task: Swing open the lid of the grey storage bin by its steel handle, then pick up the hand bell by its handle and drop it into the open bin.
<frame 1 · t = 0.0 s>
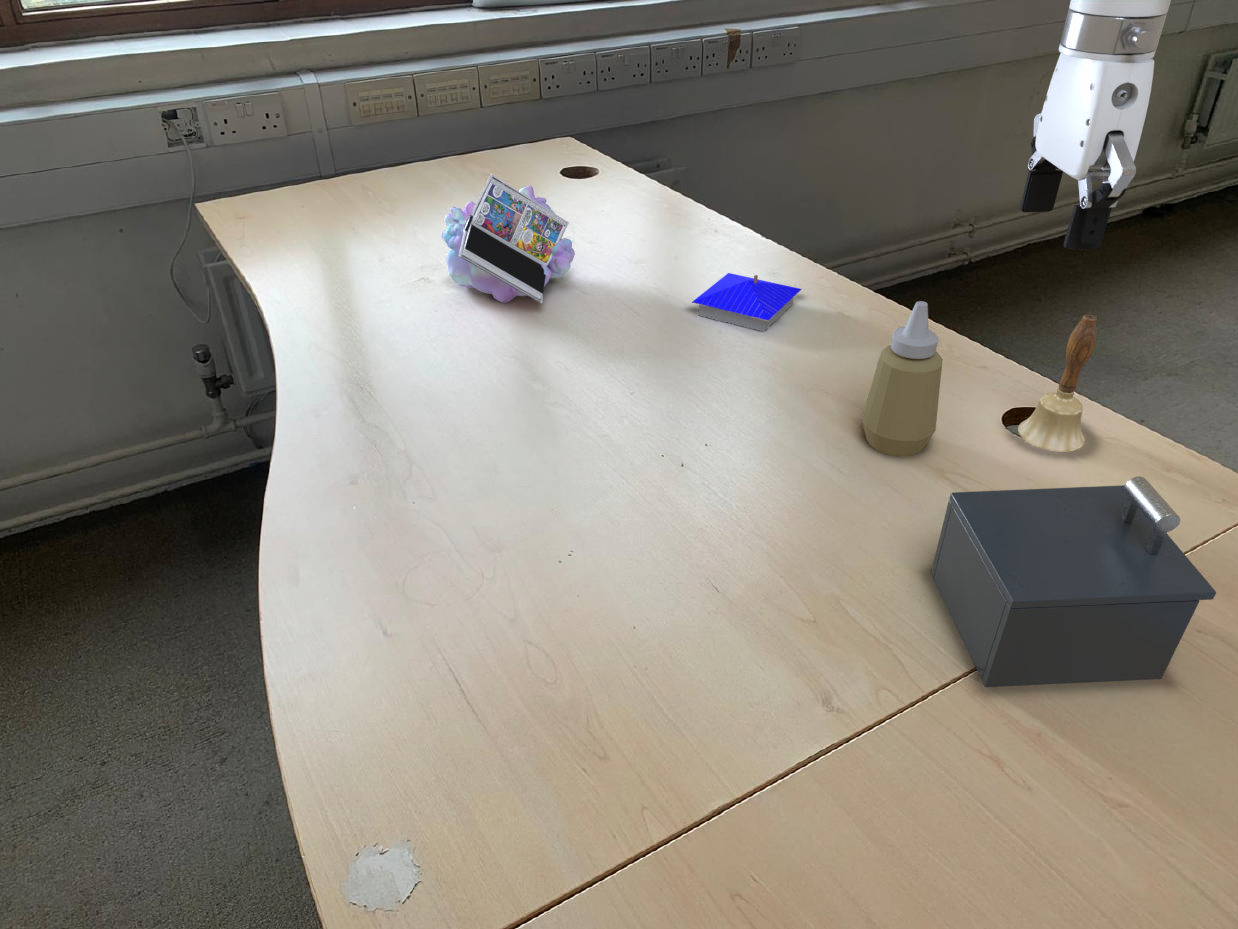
hand: (1057, 228, 86), 26 cm above the table, tool pointing down, fingers open, 9 cm apart
roof: (746, 311, 133), on the table
bin lid: (1080, 522, 72), point 12 cm above the table, hinge at 0.0°
pastel cloud comic display: (513, 285, 142), on the table
grey storage bin: (1035, 631, 79), on the table
hand bell: (1048, 443, 103), on the table
squeeze bottle: (893, 449, 103), on the table
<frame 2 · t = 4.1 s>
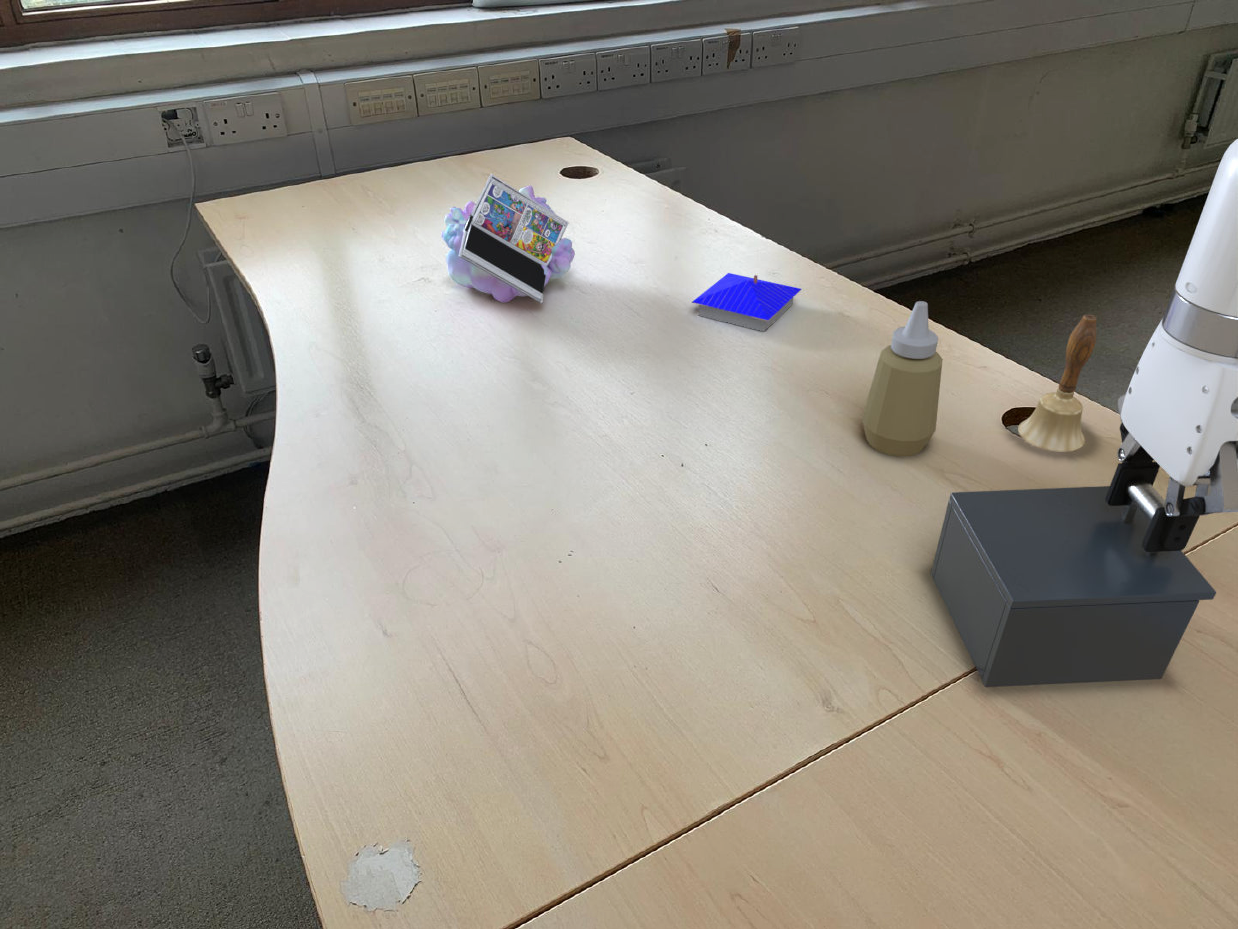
hand: (1143, 523, 72), 12 cm above the table, tool pointing down, fingers closed on bin lid, 5 cm apart
bin lid: (1080, 522, 72), point 12 cm above the table, hinge at 0.0°, touching gripper
everything else where it was.
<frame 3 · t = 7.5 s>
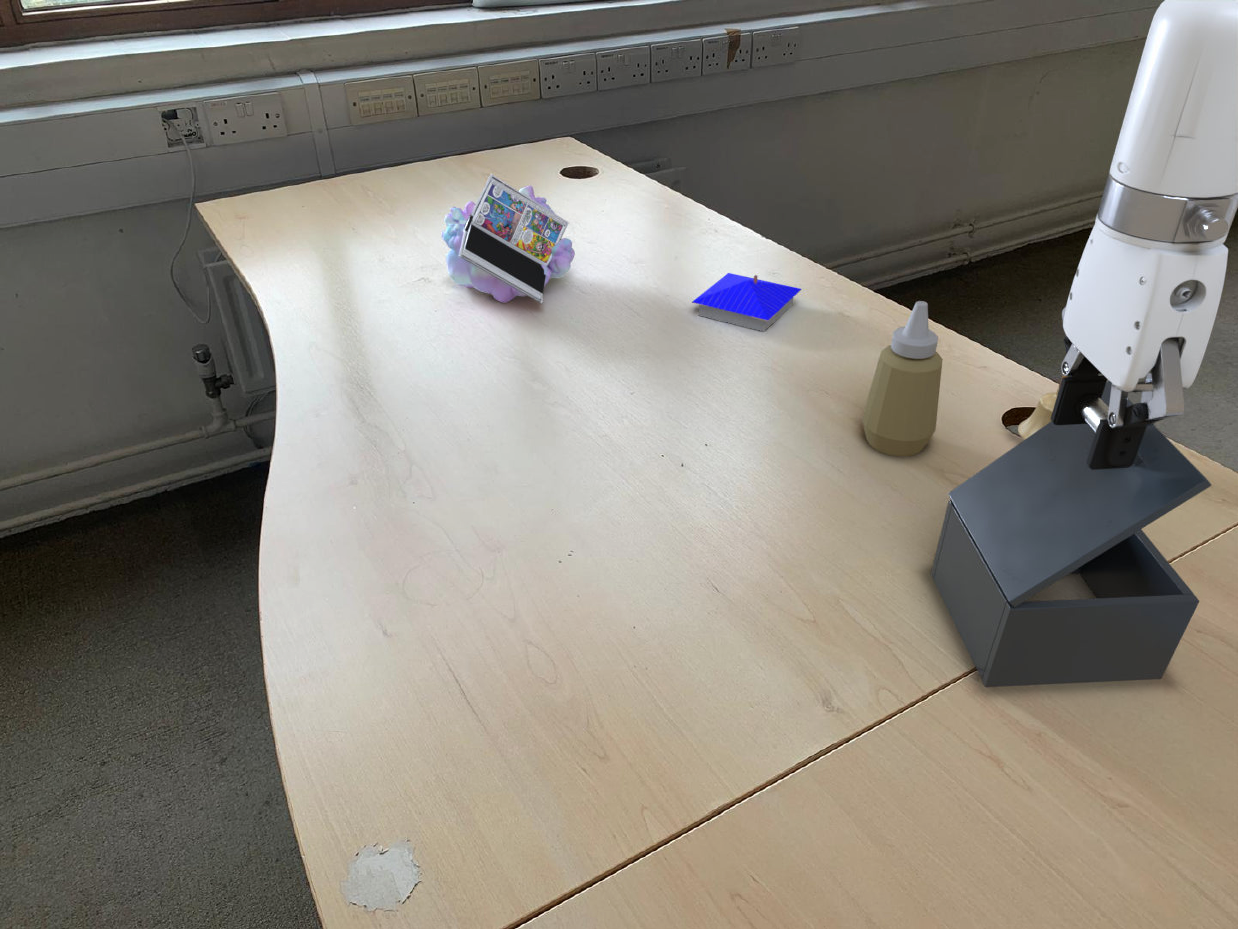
hand: (1089, 441, 68), 20 cm above the table, tool pointing down, fingers closed on bin lid, 5 cm apart
bin lid: (1050, 475, 69), point 17 cm above the table, hinge at 44.5°, touching gripper
everything else where it was.
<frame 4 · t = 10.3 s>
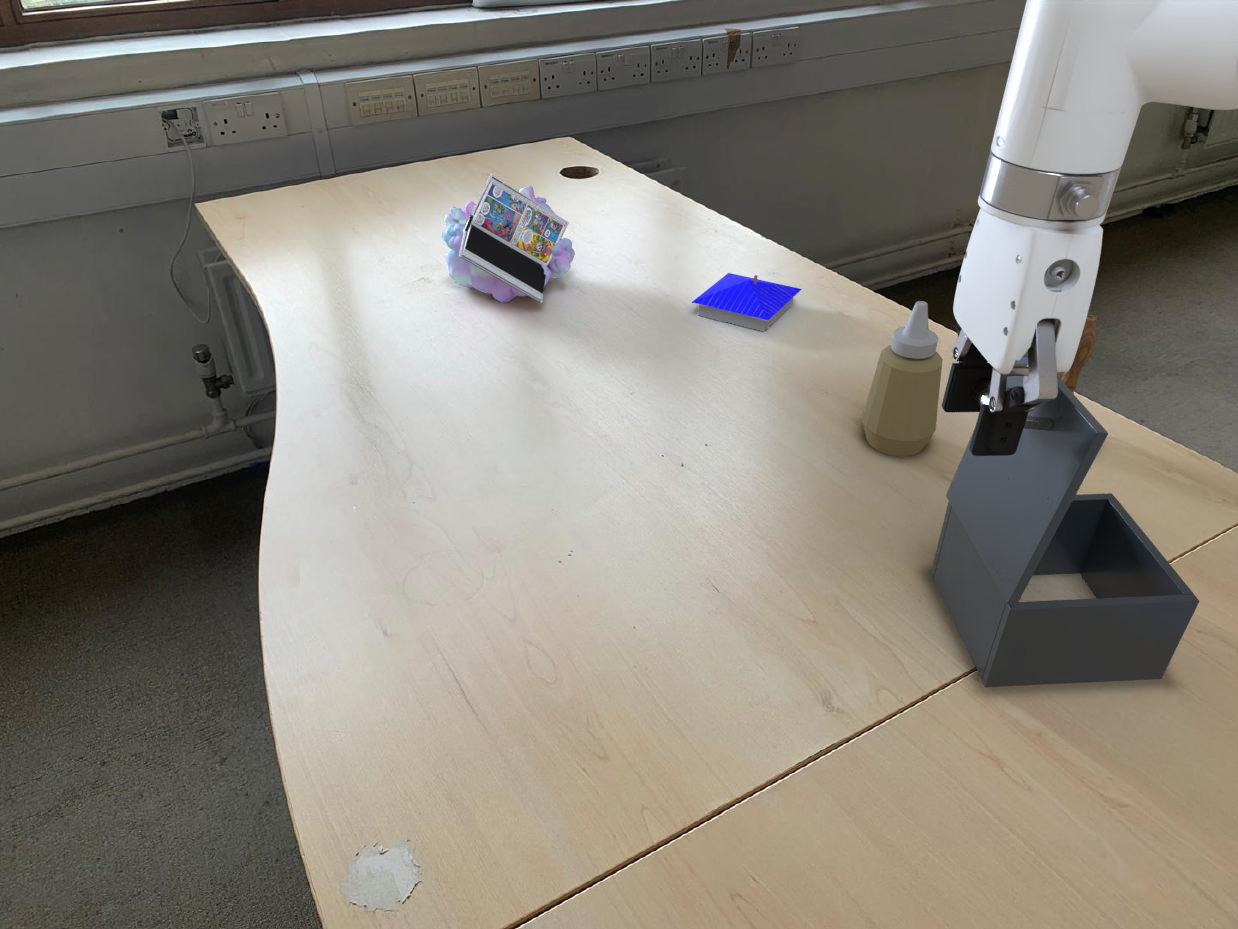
hand: (976, 429, 66), 22 cm above the table, tool pointing down, fingers closed on bin lid, 5 cm apart
bin lid: (989, 466, 68), point 18 cm above the table, hinge at 81.2°, touching gripper
everything else where it was.
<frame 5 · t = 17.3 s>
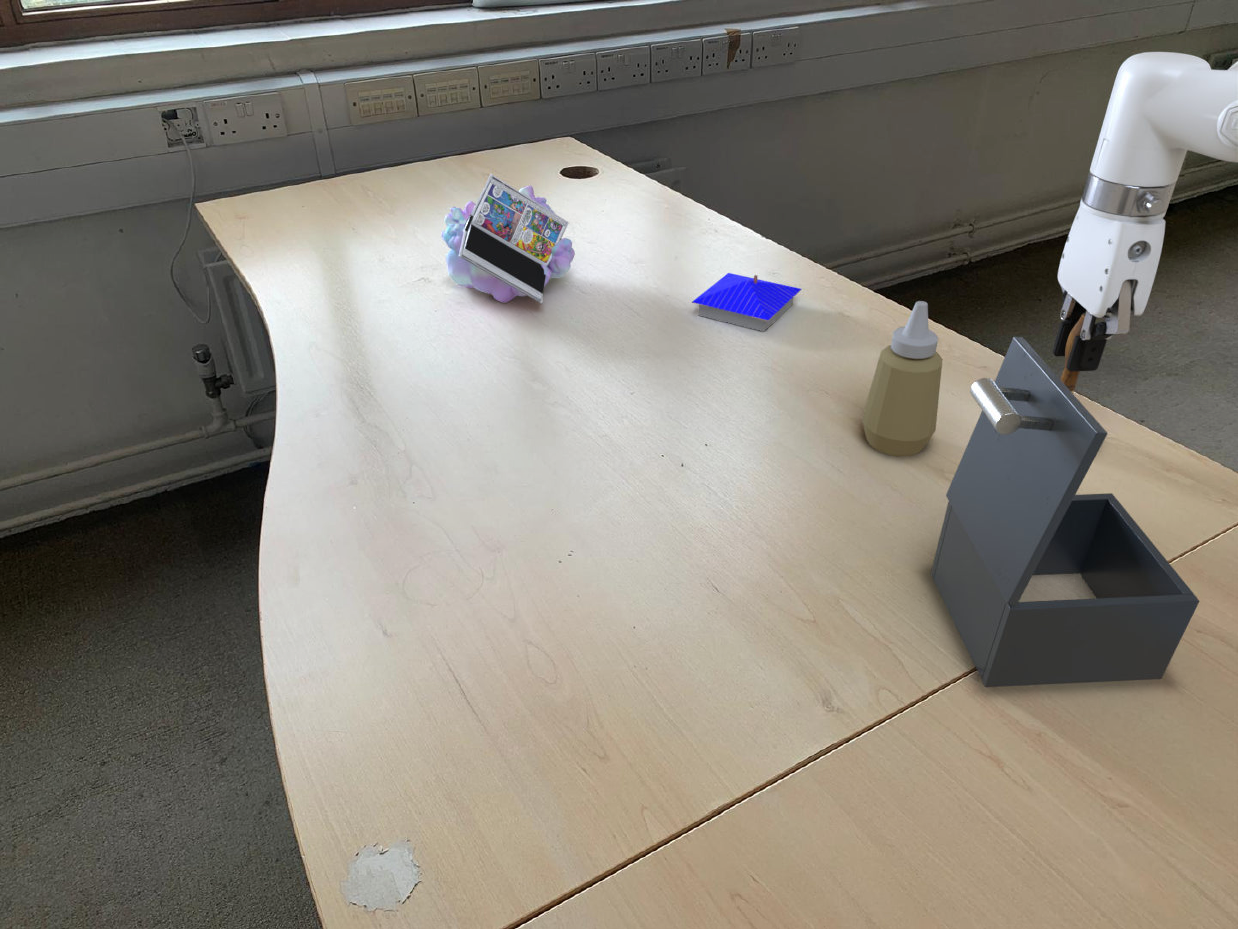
hand: (1074, 360, 97), 11 cm above the table, tool pointing down, fingers closed on hand bell, 2 cm apart
bin lid: (989, 466, 68), point 18 cm above the table, hinge at 81.4°
hand bell: (1048, 443, 103), on the table, touching gripper
everything else where it was.
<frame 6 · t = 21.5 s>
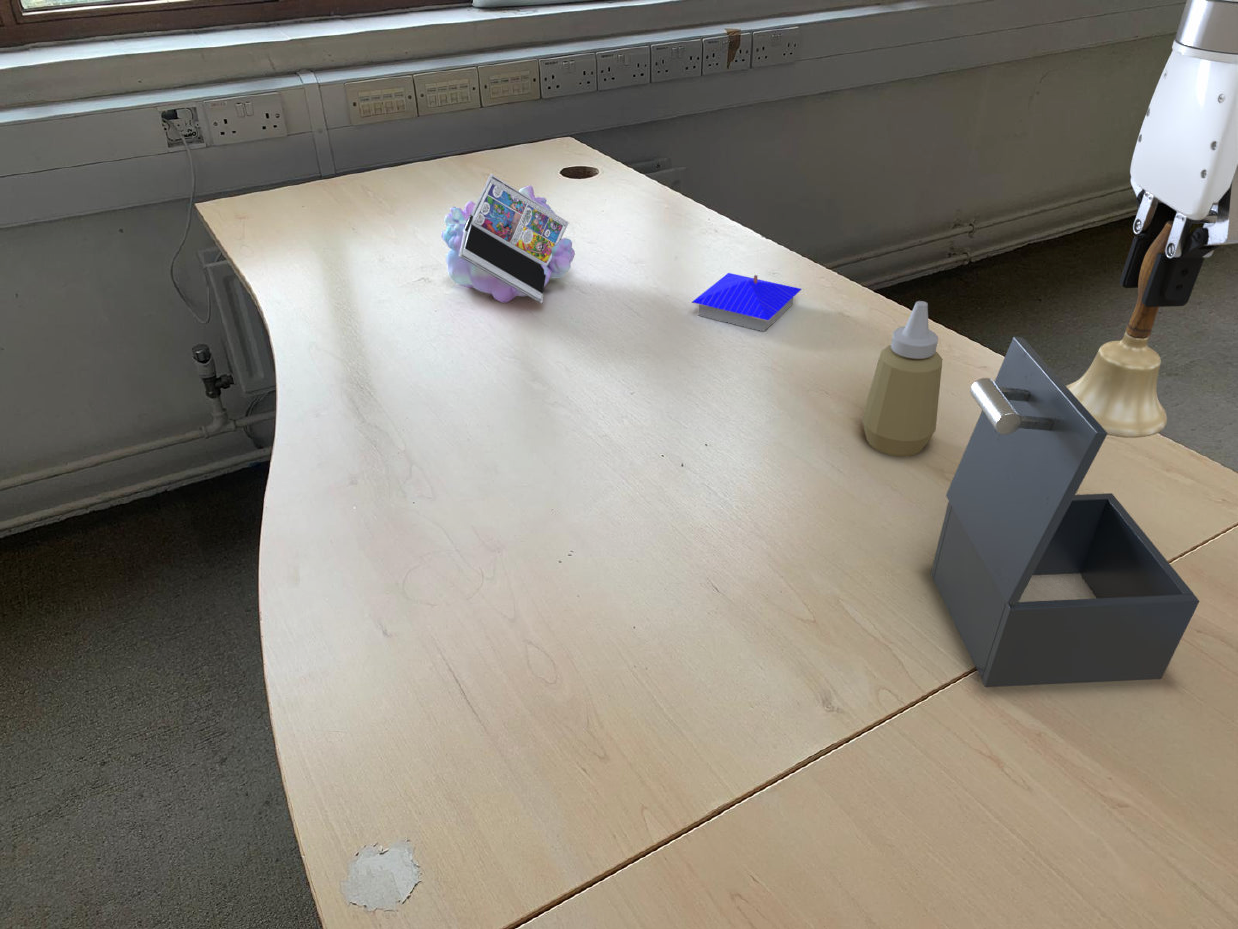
hand: (1152, 293, 68), 29 cm above the table, tool pointing down, fingers closed on hand bell, 2 cm apart
hand bell: (1109, 413, 74), point 18 cm above the table, touching gripper
everything else where it was.
when the fingers open (14 cm above the table, at t = 25.9 s): hand bell drops 3 cm, resting on grey storage bin.
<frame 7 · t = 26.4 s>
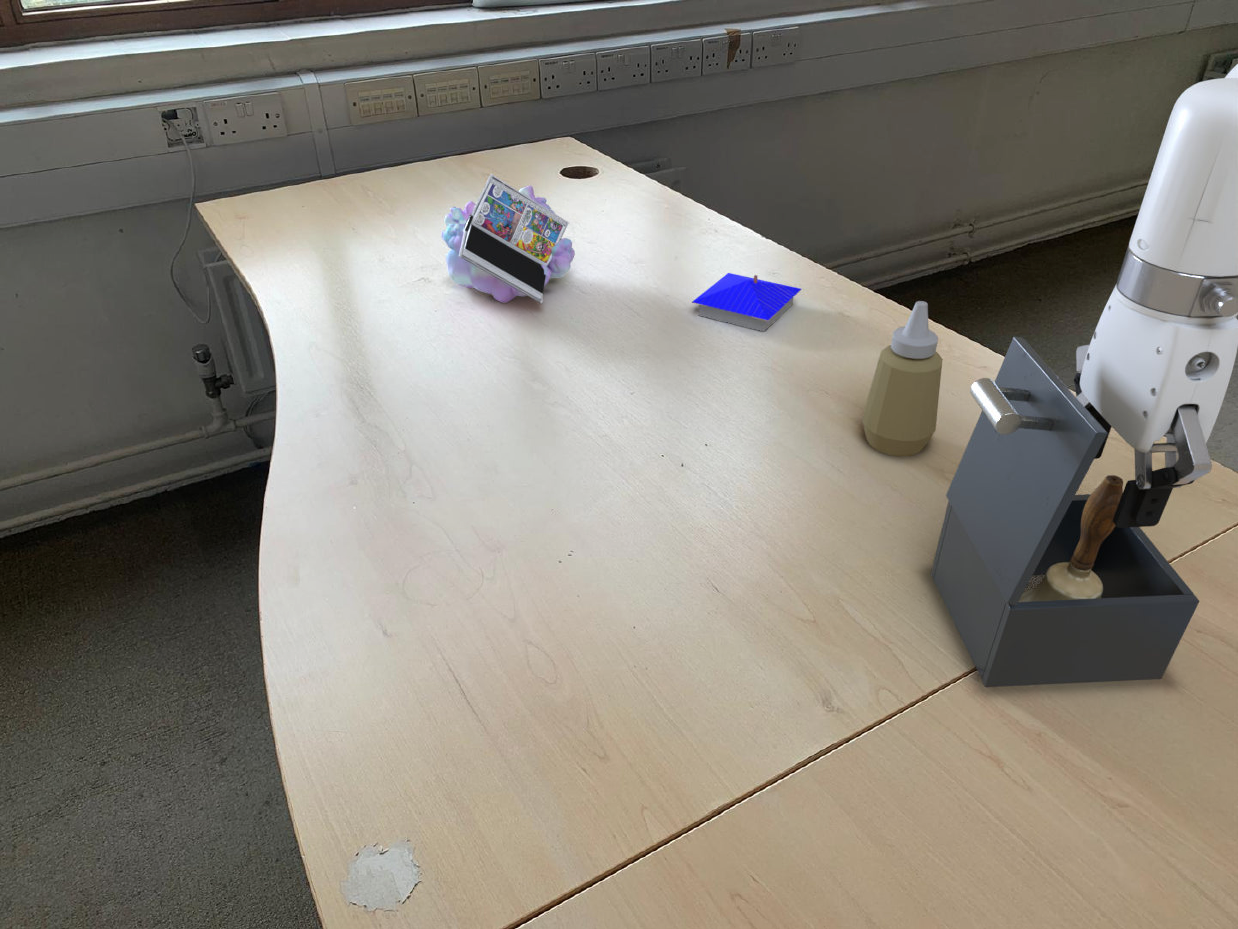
hand: (1105, 488, 70), 16 cm above the table, tool pointing down, fingers open, 8 cm apart
hand bell: (1056, 625, 79), point 1 cm above the table, touching grey storage bin
everything else where it was.
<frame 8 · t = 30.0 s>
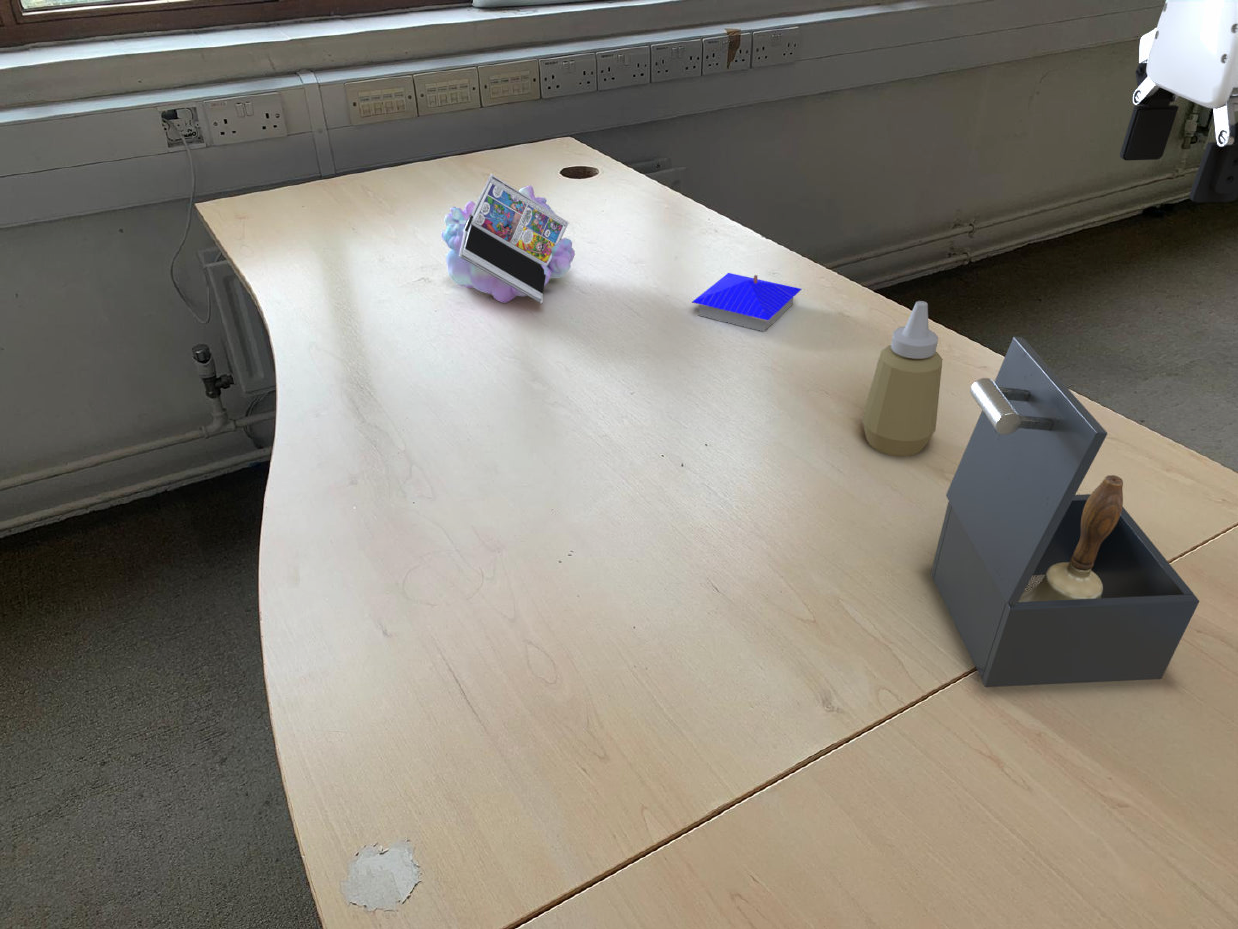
hand: (1173, 178, 67), 36 cm above the table, tool pointing down, fingers open, 9 cm apart
nothing on the table moved.
at the end: bin lid at +81° (first picture: +0°); hand bell inside the target area in the grey storage bin (1.8 cm from its centre), point 0.6 cm above the grey storage bin's base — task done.
